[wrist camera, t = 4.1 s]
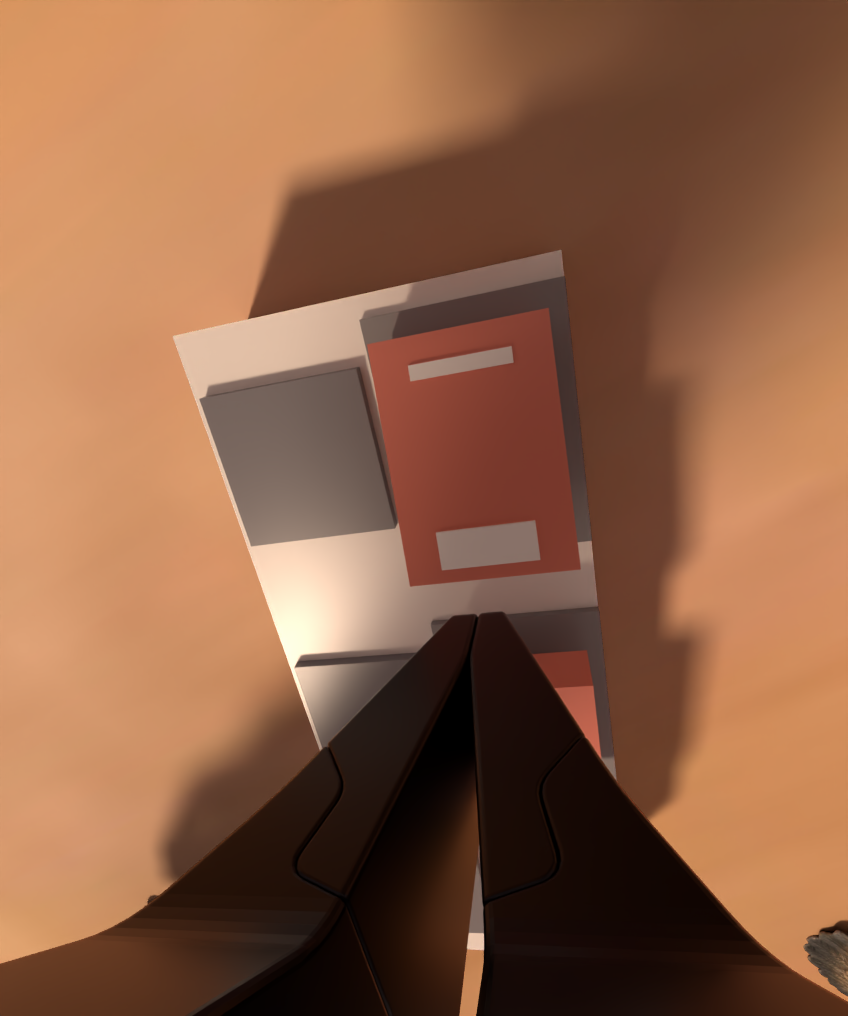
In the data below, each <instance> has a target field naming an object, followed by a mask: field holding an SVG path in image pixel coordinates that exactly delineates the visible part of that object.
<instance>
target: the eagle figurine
mask: <svg viewBox="0 0 848 1016" xmlns="http://www.w3.org/2000/svg"><path fill="white" fill-rule="evenodd" d="M807 941H808V942H809V943H808V944H805V945H804V946H803V947H804V949H805V951H807V952H808V953H809V954H810V955H811V956H810V955H809V956H808V960H809V961H810V962H811V963H812V964H813V965H815V966H816V967H818V968H820V969H818V971H819V973H820V974H821V975H823V976H824V977H827V978H828V981H829V983H830V984H831V985H833V986H835V987H836V988H837V989H838V991H840V992H841V993H843V994H845V995H847V996H848V935H847V934H846V933H844V932H842V931H840V930H836V931H835V932H834V933H829V932H825V931H821V932H820V933H819V937H818V936H810V937H808V938H807Z"/></svg>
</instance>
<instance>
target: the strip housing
mask: <svg viewBox="0 0 848 1016" xmlns="http://www.w3.org/2000/svg"><path fill="white" fill-rule="evenodd" d="M545 308H549V315H550V323H551V331H552V339H553V348H554V356H555V364H556V372H557V380H558V388H559V396H560V404H561V412H562V420H563V428H564V436H565V444H566V453H567V461H568V469H569V477H570V485H571V493H572V501H573V509H574V517H575V525H576V533H577V541H578V549H579V558H580V566H581V570H571V571H561V572H551V573H541V574H531V575H521V576H511V577H501V578H491V579H481V580H471V581H461V582H451V583H442V584H432V585H422V586H412V587H410V584H409V578H408V572H407V567H406V561H405V556H404V550H403V544H402V539H401V533H400V527H399V522H398V516H397V511H396V505H395V499H394V494H393V488H392V482H391V477H390V471H389V466H388V460H387V454H386V449H385V443H384V437H383V432H382V426H381V421H380V415H379V409H378V404H377V398H376V392H375V387H374V381H373V376H372V370H371V364H370V359H369V353H368V347H367V344H371V343H376V342H381V341H386V340H391V339H396V338H401V337H406V336H411V335H416V334H421V333H426V332H431V331H436V330H441V329H446V328H451V327H456V326H461V325H466V324H471V323H476V322H480V321H485V320H490V319H495V318H500V317H505V316H510V315H515V314H520V313H525V312H530V311H535V310H540V309H545ZM173 339H174V341H175V344H176V347H177V350H178V353H179V356H180V358H181V361H182V364H183V367H184V370H185V372H186V375H187V378H188V381H189V384H190V387H191V389H192V392H193V395H194V398H195V401H196V403H197V406H198V409H199V412H200V415H201V417H202V420H203V423H204V426H205V429H206V432H207V434H208V437H209V440H210V443H211V446H212V448H213V451H214V454H215V457H216V460H217V463H218V465H219V468H220V471H221V474H222V477H223V479H224V482H225V485H226V488H227V491H228V493H229V496H230V499H231V502H232V505H233V508H234V510H235V513H236V516H237V519H238V522H239V524H240V527H241V530H242V533H243V536H244V539H245V541H246V544H247V547H248V550H249V553H250V555H251V558H252V561H253V564H254V567H255V569H256V572H257V575H258V578H259V581H260V584H261V586H262V589H263V592H264V595H265V598H266V600H267V603H268V606H269V609H270V612H271V615H272V617H273V620H274V623H275V626H276V629H277V631H278V634H279V637H280V640H281V643H282V645H283V648H284V651H285V654H286V657H287V660H288V662H289V665H290V668H291V671H292V674H293V676H294V679H295V682H296V685H297V688H298V691H299V693H300V696H301V699H302V702H303V705H304V707H305V710H306V713H307V716H308V719H309V721H310V724H311V727H312V730H313V733H314V736H315V738H316V741H317V744H318V747H319V750H321V749H322V748H323V747H328V742H329V741H330V740H331V739H332V738H333V737H334V736H335V735H336V734H337V733H338V732H339V731H340V730H341V729H342V728H343V727H344V726H345V725H346V724H347V723H348V722H349V721H350V720H351V719H352V718H353V717H354V716H355V715H356V714H357V713H358V712H359V711H360V710H361V709H362V708H363V707H364V706H365V705H366V704H367V703H368V702H369V700H370V699H371V698H372V697H373V696H374V695H375V694H376V693H377V692H378V691H379V690H380V689H381V688H382V687H383V686H384V685H385V684H386V683H387V682H388V681H389V680H390V679H391V678H392V677H393V676H394V675H395V674H396V673H397V672H398V671H399V670H400V669H401V668H402V667H403V666H404V665H405V664H406V663H407V662H408V661H409V660H410V659H411V658H412V656H413V655H414V654H415V653H416V652H417V651H418V650H419V649H420V648H421V647H422V646H423V645H424V644H425V643H426V642H427V641H428V640H429V639H430V638H431V637H432V636H433V635H434V634H435V633H436V632H437V631H438V630H439V629H440V628H441V627H442V626H443V625H444V624H445V623H446V622H447V621H448V620H449V619H450V618H451V617H452V616H454V615H464V614H476V615H477V616H479V615H480V614H481V613H487V612H498V611H502V612H504V613H505V614H506V615H507V616H508V618H509V619H510V621H511V623H512V624H513V626H514V627H515V629H516V630H517V632H518V633H519V635H520V636H521V638H522V639H523V641H524V642H525V644H526V645H527V647H528V649H529V650H530V652H531V653H532V654H540V653H555V652H569V651H583V650H587V654H588V659H589V665H590V670H591V676H592V681H593V688H594V697H595V706H596V715H597V724H598V733H599V742H600V751H601V760H602V761H603V762H604V764H605V765H606V767H607V768H608V769H609V771H610V772H611V774H612V775H613V776H614V778H615V779H616V769H615V760H614V750H613V740H612V730H611V721H610V711H609V701H608V691H607V682H606V672H605V662H604V652H603V643H602V633H601V623H600V613H599V608H598V600H597V590H596V580H595V571H594V561H593V551H592V542H591V541H592V535H591V526H590V516H589V506H588V496H587V487H586V477H585V467H584V457H583V448H582V438H581V428H580V418H579V409H578V399H577V389H576V379H575V370H574V360H573V350H572V340H571V331H570V321H569V311H568V301H567V292H566V282H565V276H564V270H563V260H562V250H558V251H553V252H549V253H544V254H540V255H535V256H531V257H526V258H522V259H517V260H513V261H508V262H504V263H499V264H495V265H490V266H486V267H481V268H477V269H472V270H468V271H463V272H459V273H454V274H450V275H445V276H441V277H436V278H432V279H427V280H423V281H418V282H414V283H409V284H405V285H400V286H396V287H391V288H387V289H382V290H378V291H373V292H369V293H364V294H359V295H355V296H350V297H346V298H341V299H337V300H332V301H328V302H323V303H319V304H314V305H310V306H305V307H301V308H296V309H292V310H287V311H283V312H278V313H274V314H269V315H265V316H260V317H256V318H251V319H247V320H242V321H238V322H233V323H229V324H224V325H220V326H215V327H211V328H206V329H202V330H197V331H193V332H188V333H184V334H179V335H175V336H173ZM616 781H617V779H616ZM467 949H472V950H484V924H483V904H482V887H481V869H480V851H479V849H478V857H477V866H476V875H475V883H474V892H473V901H472V909H471V918H470V927H469V935H468V944H467Z"/></svg>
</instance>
